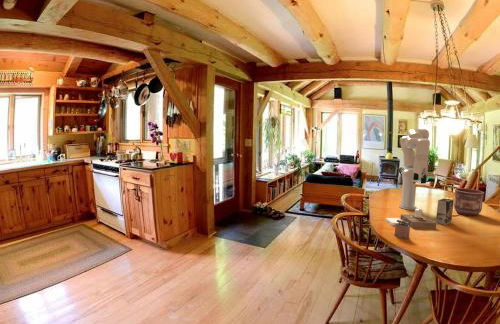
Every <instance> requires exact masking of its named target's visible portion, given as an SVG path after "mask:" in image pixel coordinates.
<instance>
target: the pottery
mask: <svg viewBox="0 0 500 324" xmlns="http://www.w3.org/2000/svg"><path fill="white" fill-rule="evenodd" d="M484 196H485V191H482V190H479V189H473V188H455V189H454V202H453V208H454V211H455V212H456V213H457V214H459V215H463V216H467V217H469V216H470V217H476V216H478V215H479V214H480V213H481V212H482V209H483V202H484Z"/></svg>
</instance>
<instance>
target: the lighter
mask: <svg viewBox="0 0 500 324" xmlns="http://www.w3.org/2000/svg"><path fill="white" fill-rule="evenodd" d="M397 222H399V223H395V226H394V237H397V238H399V239H404V238H405V239H406V240H410V230H411V227H410V226H409V225H408V222H405V221H401V220H397ZM400 223H401V224H400ZM405 239H404V240H405Z"/></svg>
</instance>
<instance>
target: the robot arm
mask: <svg viewBox="0 0 500 324" xmlns="http://www.w3.org/2000/svg"><path fill="white" fill-rule="evenodd" d="M429 137H430V131H428V129H426V128H413V129H412V128H411V129H409V131H408V132H407V135H405V136H402V137H401V138H400V141H399V143H400V147H401V151H402V153H403V166H404V168H405V169H404V170H403V171H402V174H401V176H402V186H401V187H402V188H401V189H402V190H401V201H400V204H399V205H398V207H399V208H400V209H403V210H410V211H415V209H418V207H417V206H415V204H416V203H415V202H416V194H417V192H416V190H417V186H416V185H415V183H416V182H418V183H421V184H426V183H427V180H428V176H429V171H428V170H429V169H428V166H429V163H428V160H429V154H430V145H431V142H430V139H429ZM414 149H415V150H414ZM414 182H415V183H414Z"/></svg>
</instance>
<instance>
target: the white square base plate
mask: <svg viewBox="0 0 500 324" xmlns="http://www.w3.org/2000/svg"><path fill="white" fill-rule="evenodd" d="M397 220H401V219H400V218H399V217H385V222H386V223H387V224H389V225H390V226H392V227H395V223H399V222H397ZM401 221H402V220H401ZM400 224H401V223H400Z"/></svg>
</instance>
